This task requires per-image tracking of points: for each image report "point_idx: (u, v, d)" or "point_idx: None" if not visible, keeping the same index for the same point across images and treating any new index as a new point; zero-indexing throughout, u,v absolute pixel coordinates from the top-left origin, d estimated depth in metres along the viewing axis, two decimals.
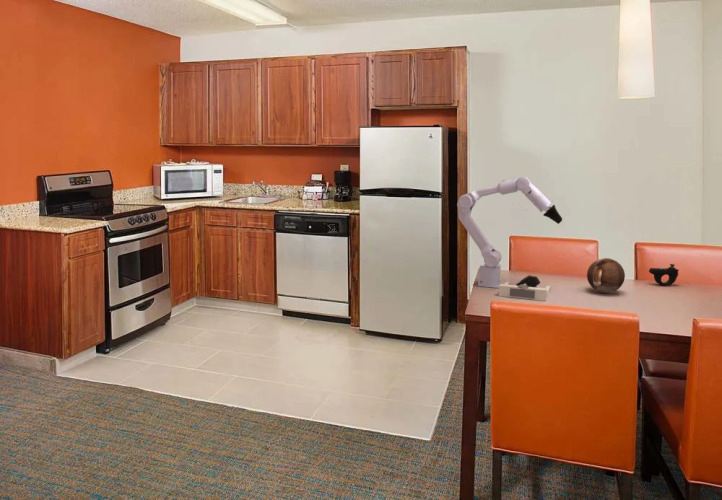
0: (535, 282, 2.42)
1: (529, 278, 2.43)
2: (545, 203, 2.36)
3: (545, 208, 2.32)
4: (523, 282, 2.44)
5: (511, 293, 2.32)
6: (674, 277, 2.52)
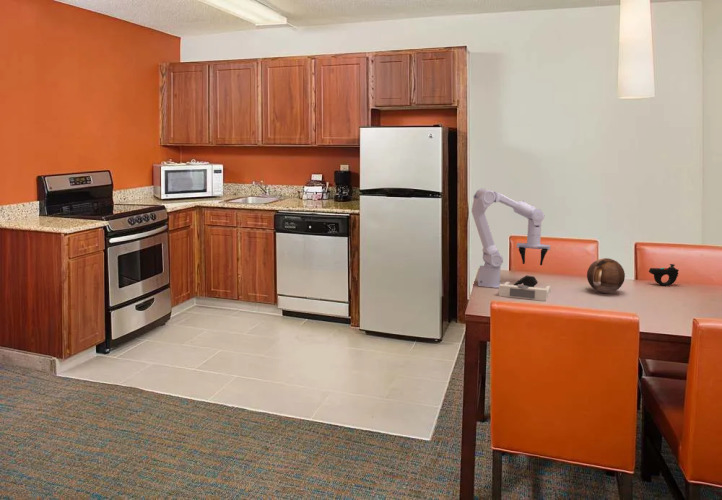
0: (532, 282, 2.42)
1: (526, 278, 2.43)
2: None
3: None
4: (520, 282, 2.44)
5: (511, 293, 2.32)
6: (674, 277, 2.52)
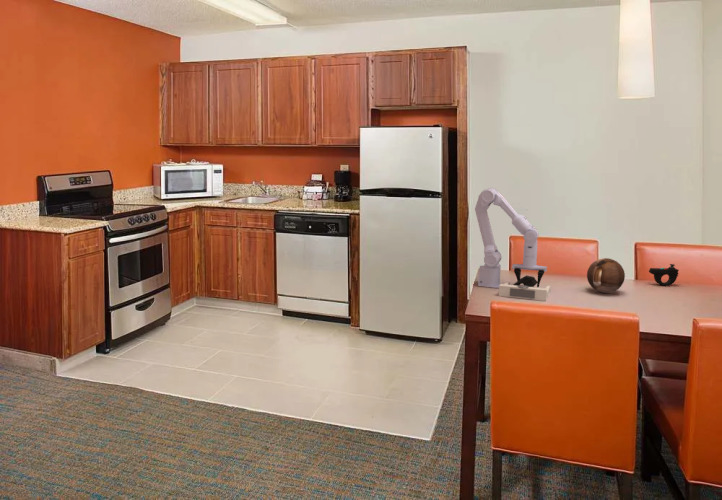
0: (532, 282, 2.41)
1: (526, 278, 2.42)
2: None
3: (546, 268, 2.42)
4: (520, 282, 2.43)
5: (511, 293, 2.32)
6: (674, 277, 2.52)
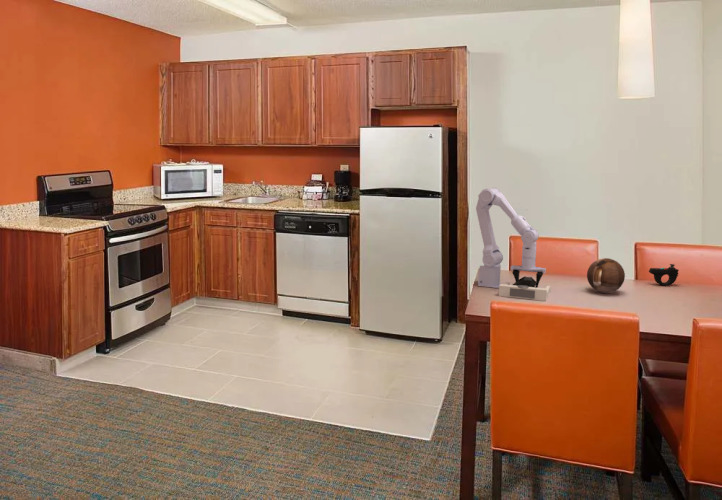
0: (530, 285, 2.37)
1: (524, 281, 2.39)
2: None
3: (545, 270, 2.39)
4: (518, 284, 2.41)
5: (511, 293, 2.32)
6: (674, 277, 2.52)
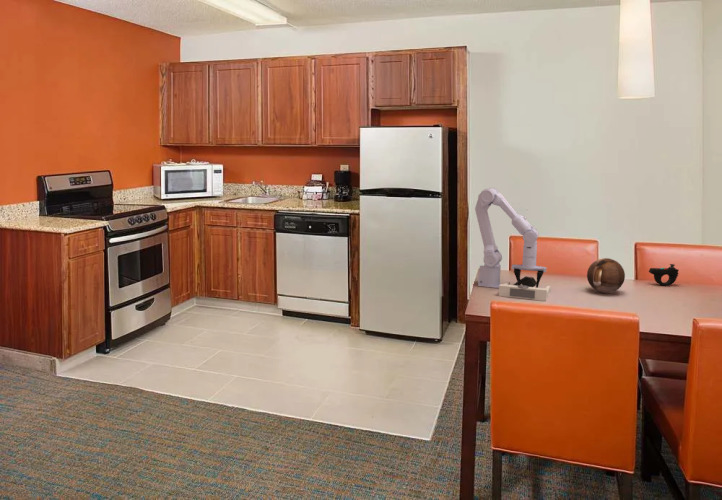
0: (531, 283, 2.39)
1: (525, 279, 2.41)
2: None
3: None
4: (519, 283, 2.42)
5: (511, 293, 2.32)
6: (674, 277, 2.52)
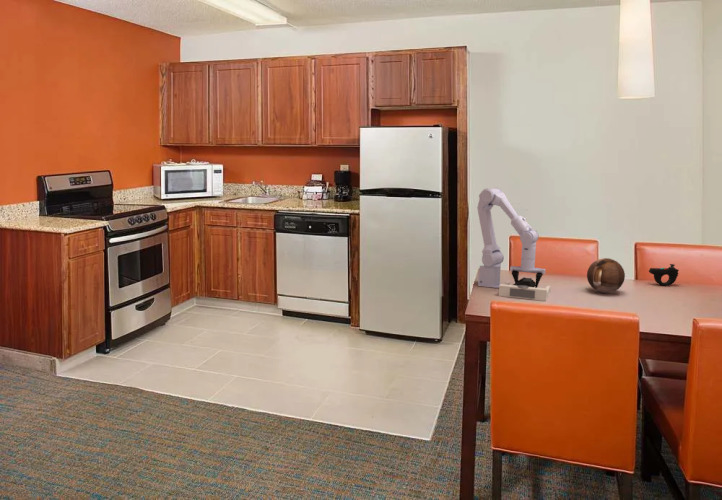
0: (529, 286, 2.36)
1: (523, 282, 2.37)
2: None
3: None
4: None
5: (511, 293, 2.32)
6: (674, 277, 2.52)
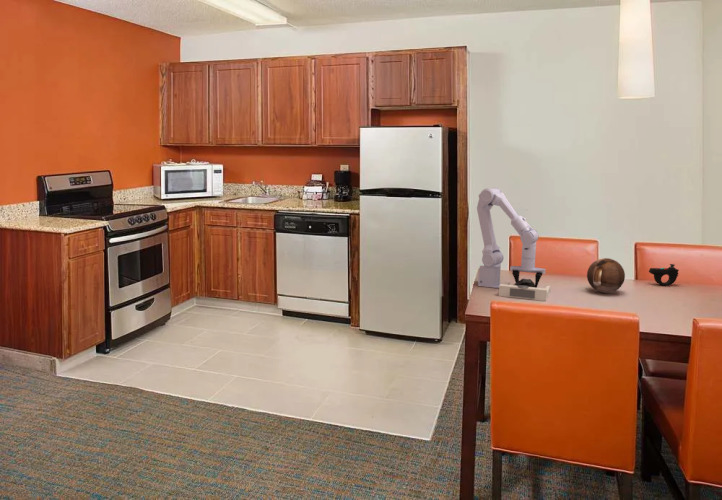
0: None
1: (523, 283, 2.35)
2: None
3: None
4: None
5: (511, 293, 2.32)
6: (674, 277, 2.52)
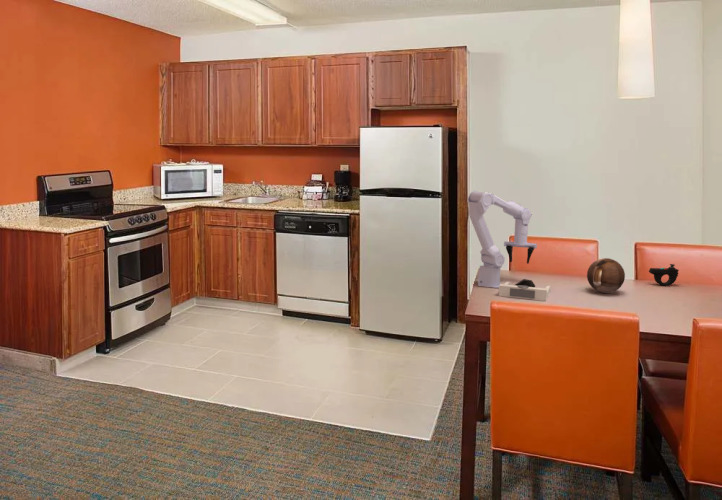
0: (530, 286, 2.35)
1: (524, 282, 2.37)
2: None
3: (536, 245, 2.53)
4: None
5: (511, 293, 2.32)
6: (674, 277, 2.52)
